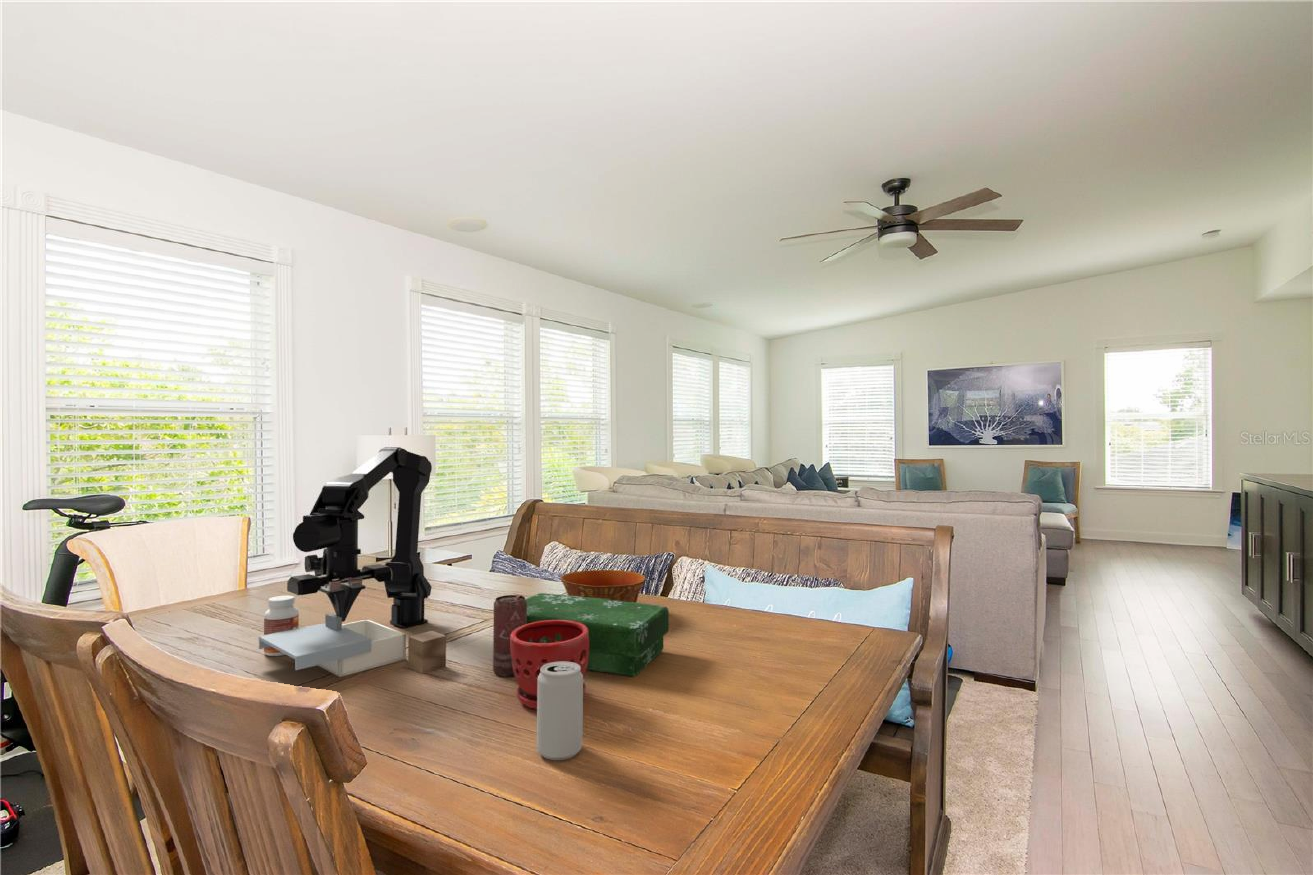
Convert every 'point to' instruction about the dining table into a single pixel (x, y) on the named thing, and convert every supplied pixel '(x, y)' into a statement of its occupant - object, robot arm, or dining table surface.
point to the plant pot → (545, 652)
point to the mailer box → (383, 649)
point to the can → (506, 630)
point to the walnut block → (426, 651)
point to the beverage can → (559, 710)
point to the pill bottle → (280, 619)
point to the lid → (318, 643)
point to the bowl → (604, 584)
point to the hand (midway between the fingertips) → (341, 621)
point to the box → (607, 629)
